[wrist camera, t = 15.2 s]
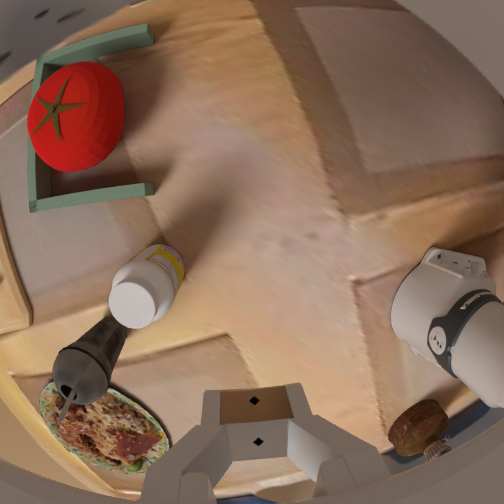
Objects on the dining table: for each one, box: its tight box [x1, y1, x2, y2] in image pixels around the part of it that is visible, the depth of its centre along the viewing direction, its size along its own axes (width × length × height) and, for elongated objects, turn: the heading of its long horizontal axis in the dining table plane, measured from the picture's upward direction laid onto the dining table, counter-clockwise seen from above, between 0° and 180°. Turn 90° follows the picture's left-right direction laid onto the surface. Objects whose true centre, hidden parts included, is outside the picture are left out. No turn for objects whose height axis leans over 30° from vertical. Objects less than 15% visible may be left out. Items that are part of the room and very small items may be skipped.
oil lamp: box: [388, 399, 451, 462], centre depth 31 cm, size 14×15×40 cm
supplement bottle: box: [109, 244, 185, 329], centre depth 31 cm, size 7×7×13 cm
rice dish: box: [39, 381, 170, 474], centre depth 41 cm, size 28×28×5 cm
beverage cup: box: [53, 317, 127, 422], centre depth 29 cm, size 7×7×20 cm
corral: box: [28, 23, 154, 213], centre depth 30 cm, size 18×23×4 cm
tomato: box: [27, 62, 125, 172], centre depth 27 cm, size 14×13×10 cm
